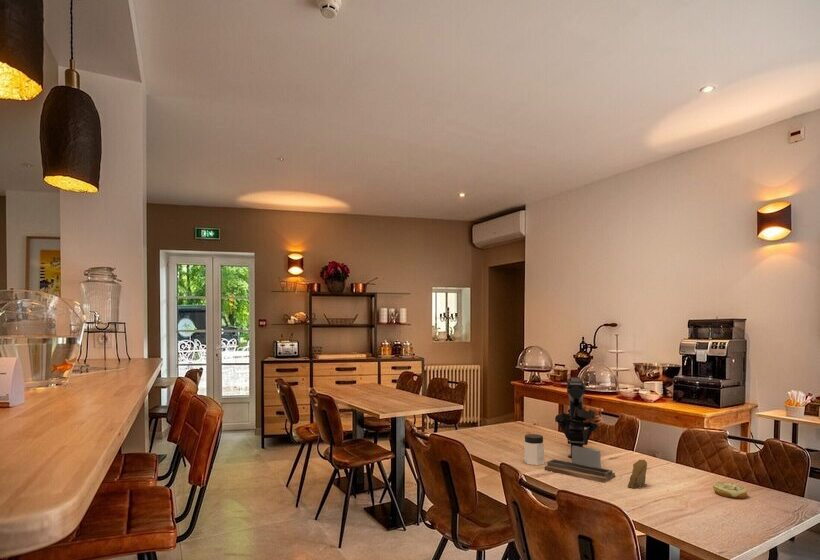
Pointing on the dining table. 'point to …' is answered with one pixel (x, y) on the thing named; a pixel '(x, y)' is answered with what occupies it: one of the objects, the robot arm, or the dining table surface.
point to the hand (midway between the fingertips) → (577, 441)
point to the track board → (579, 470)
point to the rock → (638, 474)
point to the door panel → (586, 456)
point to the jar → (534, 449)
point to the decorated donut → (730, 490)
